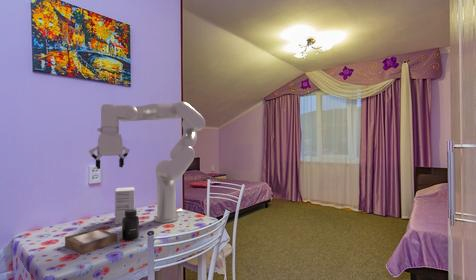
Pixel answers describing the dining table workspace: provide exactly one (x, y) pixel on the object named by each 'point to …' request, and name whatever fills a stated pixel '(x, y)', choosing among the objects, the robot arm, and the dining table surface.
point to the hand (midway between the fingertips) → (110, 167)
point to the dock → (90, 240)
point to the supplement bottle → (130, 225)
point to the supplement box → (123, 202)
